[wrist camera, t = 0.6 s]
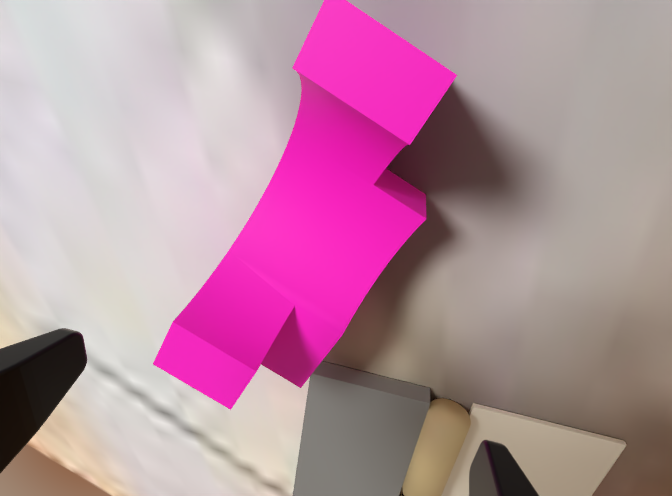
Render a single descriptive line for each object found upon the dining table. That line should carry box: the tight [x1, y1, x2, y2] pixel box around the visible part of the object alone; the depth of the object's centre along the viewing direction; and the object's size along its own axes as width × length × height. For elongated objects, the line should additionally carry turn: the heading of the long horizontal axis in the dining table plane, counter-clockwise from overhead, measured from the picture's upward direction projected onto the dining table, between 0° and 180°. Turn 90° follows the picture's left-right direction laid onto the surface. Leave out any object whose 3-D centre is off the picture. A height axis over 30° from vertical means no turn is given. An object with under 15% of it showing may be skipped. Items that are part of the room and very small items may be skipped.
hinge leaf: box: [293, 361, 471, 496], centre depth 26 cm, size 9×18×2 cm, turn 172°
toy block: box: [153, 0, 457, 410], centre depth 16 cm, size 15×6×8 cm, turn 149°
